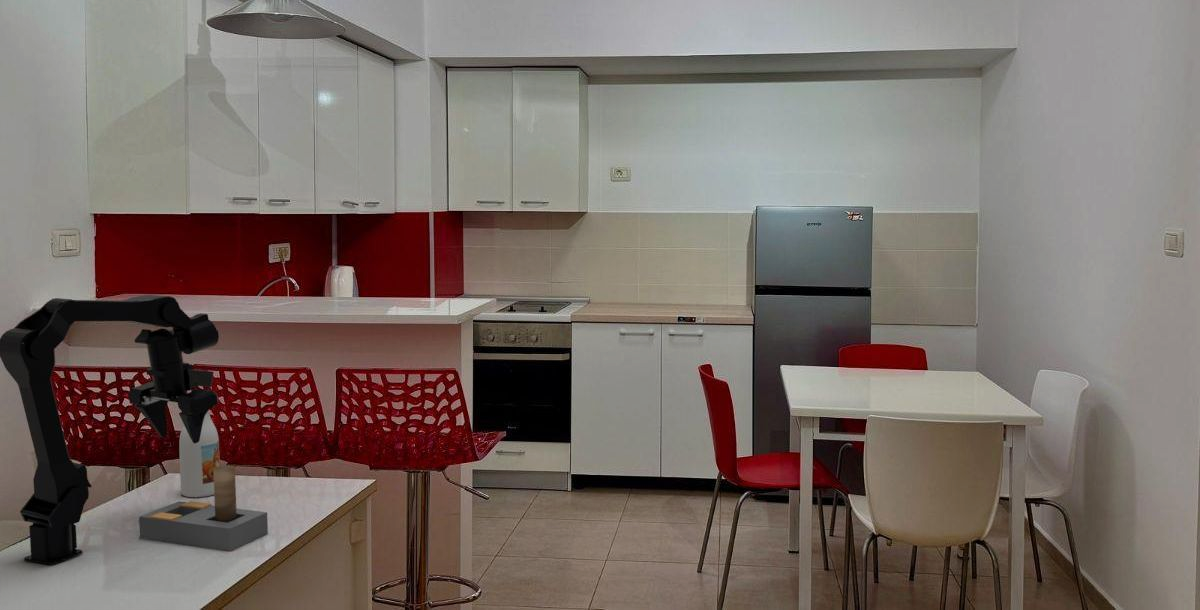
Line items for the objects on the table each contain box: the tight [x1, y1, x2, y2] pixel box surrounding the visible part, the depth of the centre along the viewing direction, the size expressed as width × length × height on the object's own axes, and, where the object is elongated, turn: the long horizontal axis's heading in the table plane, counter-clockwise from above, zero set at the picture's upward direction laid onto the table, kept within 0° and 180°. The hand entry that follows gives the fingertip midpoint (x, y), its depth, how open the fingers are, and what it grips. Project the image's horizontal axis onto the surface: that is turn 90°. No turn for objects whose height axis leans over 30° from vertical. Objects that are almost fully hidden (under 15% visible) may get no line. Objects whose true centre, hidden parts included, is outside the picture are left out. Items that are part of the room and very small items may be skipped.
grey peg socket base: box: [138, 500, 269, 552], centre depth 185 cm, size 20×10×4 cm, turn 70°
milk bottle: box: [178, 410, 221, 498], centre depth 212 cm, size 8×8×20 cm
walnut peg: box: [213, 465, 237, 523], centre depth 183 cm, size 4×4×13 cm
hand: (180, 439), depth 195 cm, fingers open, 9 cm apart
